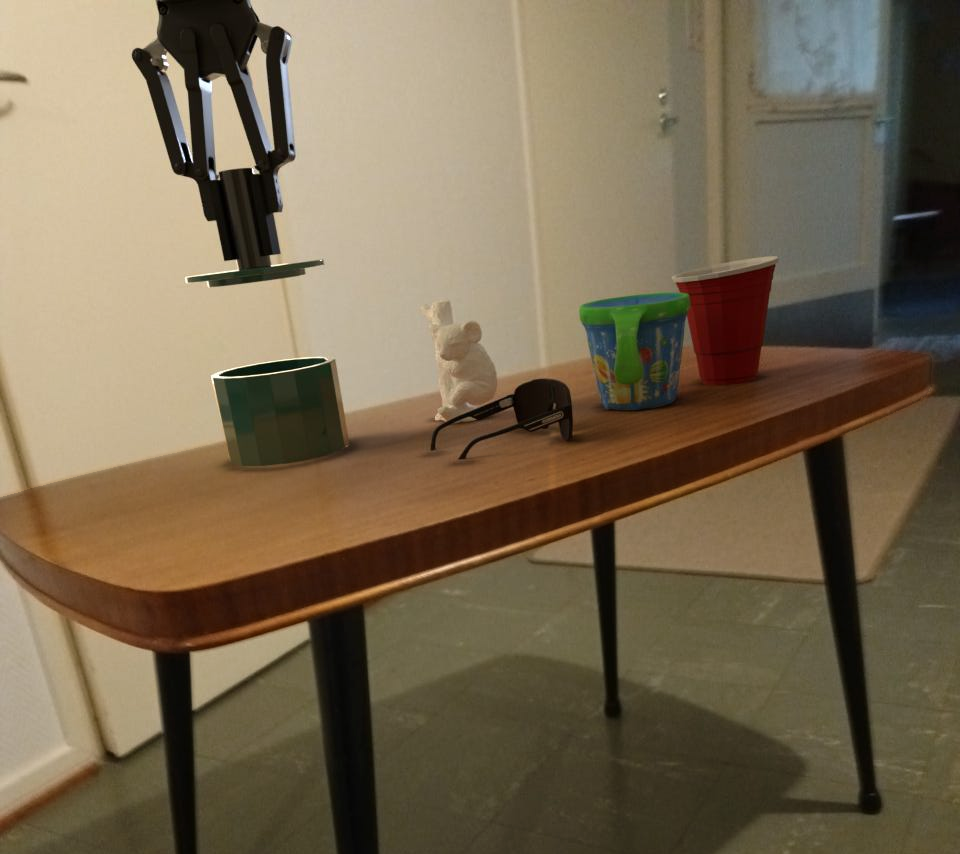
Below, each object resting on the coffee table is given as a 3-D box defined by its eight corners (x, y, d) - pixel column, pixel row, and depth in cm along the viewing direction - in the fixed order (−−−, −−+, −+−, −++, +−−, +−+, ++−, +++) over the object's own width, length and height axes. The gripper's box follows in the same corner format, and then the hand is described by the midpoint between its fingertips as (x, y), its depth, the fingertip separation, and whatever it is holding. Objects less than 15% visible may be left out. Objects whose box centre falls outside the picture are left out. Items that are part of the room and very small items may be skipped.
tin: (215, 476, 90) (194, 382, 87) (250, 450, 101) (233, 365, 98) (335, 464, 89) (319, 368, 86) (359, 439, 99) (345, 352, 96)
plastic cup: (665, 381, 111) (660, 268, 106) (760, 368, 111) (759, 255, 106) (689, 395, 100) (685, 271, 96) (794, 381, 101) (794, 257, 96)
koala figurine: (415, 423, 104) (398, 305, 99) (467, 411, 107) (453, 295, 103) (458, 430, 97) (442, 303, 93) (513, 417, 101) (500, 294, 96)
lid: (166, 293, 84) (139, 176, 80) (213, 285, 95) (192, 182, 92) (307, 276, 82) (286, 156, 79) (338, 269, 94) (321, 164, 90)
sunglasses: (595, 439, 85) (584, 382, 83) (475, 486, 81) (461, 427, 79) (534, 426, 94) (523, 374, 92) (424, 467, 90) (410, 414, 88)
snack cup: (678, 419, 90) (674, 302, 86) (567, 424, 94) (558, 313, 90) (704, 388, 103) (701, 286, 99) (606, 394, 107) (599, 296, 103)
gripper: (300, -58, 81) (348, 245, 90) (117, -28, 83) (181, 266, 92) (276, -84, 75) (331, 247, 83) (77, -50, 76) (151, 270, 85)
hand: (252, 256), depth 88 cm, fingers closed on lid, 3 cm apart
